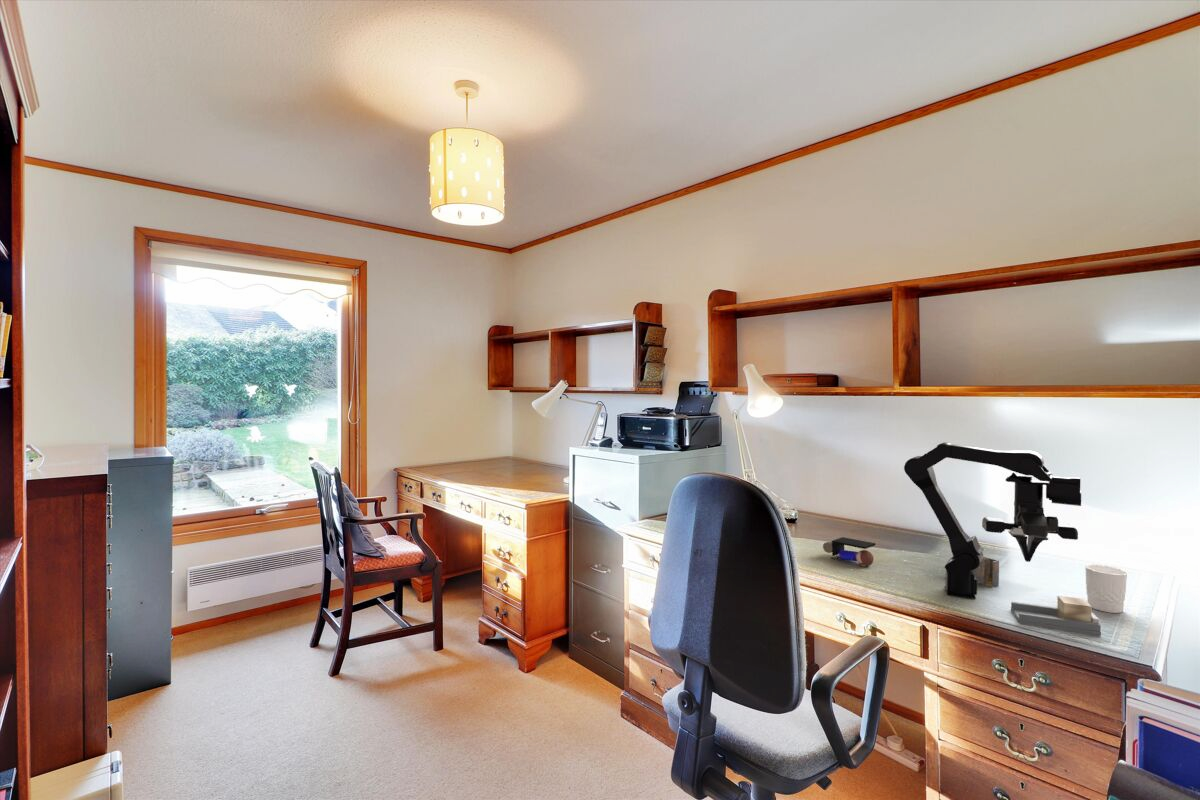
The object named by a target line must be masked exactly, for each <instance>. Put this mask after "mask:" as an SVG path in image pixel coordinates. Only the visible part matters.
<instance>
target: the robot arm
mask: <svg viewBox="0 0 1200 800" xmlns="http://www.w3.org/2000/svg"><path fill="white" fill-rule="evenodd" d="M947 458H949V459H955V460H961V461H967V462H974V463H978V464H979V463H980V464H985V465H990V466H991V465H992V466H998V467H999V468H1003V469H1006V470H1008V471H1011V472H1012V473H1011V475H1009V476H1007V477H1006V478H1005V481H1006V482H1007V483H1014V502H1013V505H1014V512H1013V513H1014V516H1013V522H1008V521H1005V520H1003V519H1002V518H1000V517H988V516H985V517H983V518H982V520H981V522H982V523H981V525H982V526H981V527H982V529H983V530H984V531H986V532H988V533H996V534H997V533H998V534H1001V533H1004V532H1005V531H1006V530H1008V531H1007V532H1008V534H1009V535H1010V536H1011V537H1013V538H1015V540H1016V541H1017V544H1018V546H1019V549H1020V551H1021V554H1022V556H1023V558H1024V562H1028V563H1029V562H1031V561H1032V559H1033V556H1034V554H1035V553H1036V550H1037V548H1038V547H1039V545H1040V544H1042V542H1043V541H1048V540H1049V537H1048V534H1052V535H1054V534H1055V535H1058V536H1059V537H1060V538H1061V539H1064V540H1073V541H1076V540H1079V532H1078V529H1077V528H1076V527H1074V526H1072V525H1071V524H1070V523H1067V522H1066V523H1065V522H1059V518H1058V517H1057V516H1049V515H1048V516H1045V513H1044V512H1045V510H1044V507H1043V506H1044V505H1043V502H1044V500H1043V499H1044V498H1043V497H1044V486H1045V499H1048V500H1049V501H1051V504H1057V505H1066V506H1076V507H1081V506H1082V489H1081V477H1074V476H1073V477H1065V476H1054V475H1053V474H1052V472H1051V471H1050V470H1049V469H1048V468H1047V467H1046V466H1045V463H1044V462H1045V460H1044V457H1042V455H1041V454H1039V453H1038V452H1037V451H1034V450H996V449H990V448H982V447H975V446H969V445H962V444H954V443H950V442H946V441H945V442H944V441H943V442H941V443H939V444H938V445H936V447H934V448H933V449H931V450H929V451H927V452H926V453H924V454H923V455H922V456H921V455H917V456H914V457H911V458H909V459H908V460H907V461H906V462H905V464H904V465H903V469H904V473H905V474H906V475H907V476H908V477H909V479H910V480H911V481H912V483H913V484H914V485H915V486H917V488H919V489H920V491H921V492H922V494H923V496H924V497H925V499H926V500H927V502H928V504H929V506H930V507H931V510H932V511H933V513H934V515H935V517H936V518H937V520H938V522H939V524H940V526H941V527H942V529H943V531H944V532H945V534H946V536H947V538H948V542H949V546H950V550H951V553H952V557H950V558H949V560H948V561H947V562H946V563H945V565H944V568H945V585H944V590H945V593H946V595H947V596H949V597H950V596H951V597H957V598H966V599H971V600H975V599H976V598H977V597H976V596H977V594H978V583H977V580H976V578H975V574H974V573H973V571H971V570H974V569H976V568H977V567H978V566H979V565H980V563H981V561H982V559H983V557H984V553H983V552H984V550H985V549H984V548H983V547H982V546H981V545H980V543H979V540H978V538H977V536H976V535H973V536H971V537H970V535H968V533H966V532H965V530H964V529H963V527H962V525H961V524H960V522H959V519H958V518H957V517H956V515H955V513H954V511H953V510H952V508H951V506H950V505H949V503H948V500H947V499H946V497H945V496H944V494H943V492H942V491H941V489H940V487H939V486H938V482H937V478H936V473H935V470H934V467H933V466H935V465H937V464H938V463H940V462H941V461H943V460H944V459H947ZM1019 474H1021V475H1019ZM1033 478H1035V479H1036V480H1035V479H1033Z"/></svg>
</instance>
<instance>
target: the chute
mask: <svg viewBox="0 0 1200 800" xmlns="http://www.w3.org/2000/svg"><path fill="white" fill-rule="evenodd" d="M1010 604H1011V605H1010V611H1011V613H1012V614H1013V615H1014V617H1015V618H1017V619H1016V620H1017V622H1018V621H1019V622H1018V623H1019V624H1020V625H1026V626H1031V625H1033V626H1032V627H1038V626H1041V627H1040V628H1045V627H1048V628H1047V629H1051V628H1053V629H1052V630H1058V629H1061V630H1060V631H1065V630H1066V631H1065V632H1073V633H1079V634H1087V635H1094V636H1100V637H1101V636H1102V632H1101V628H1102V627H1101V626H1102V625H1101V624H1100V618H1098V616H1096V614H1095V613H1093V612H1092V613H1091V622H1084V621H1077V620H1070V619H1062V618H1059V617H1058V616H1057V606H1049V605H1040V604H1033V603H1025V602H1020V601H1019V602H1018V601H1013V600H1012V601H1011V602H1010Z"/></svg>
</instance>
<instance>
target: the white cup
mask: <svg viewBox="0 0 1200 800" xmlns="http://www.w3.org/2000/svg"><path fill="white" fill-rule="evenodd" d="M1127 579H1128V572H1127V571H1126V570H1124V569H1121V568H1117V567H1115V566H1114V567H1113V566H1109V565H1103V564H1095V563H1094V564H1086V565H1085V587H1086V588H1085V589H1086V595H1087V600H1086V602H1088V603H1089V604H1090V605H1091V606H1092V609H1095V610H1097V611H1101V612H1105V613H1111V614H1121V613H1123V612H1124V606H1125V605H1124V604H1125V603H1124V602H1125V600H1126V599H1125V598H1126V591H1127Z"/></svg>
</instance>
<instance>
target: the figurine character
mask: <svg viewBox="0 0 1200 800" xmlns="http://www.w3.org/2000/svg"><path fill="white" fill-rule="evenodd" d="M845 546H848V547H853V548H859V549H861V550H859V551H856V550H855V551H853V550H846V549H845ZM874 546H876V542H871V541H865V540H860V539H855V538H850V537H849V538H848V537H844V536H842V537H839V538H836V539H833V540H831V541H827V542H824V543H823V545H822V549H823V550H824V552H826V553H827V554H831V553H832V555H831V556H830V558H831V559H833V560H844V561H849V562H850V561H851V562H852V561H853V562H857V563H858V564H859V566H862V567H869V566H871V565H872V564H873V562H874V555H873V554H872V552H871V551H869V550H867V549H869V548H871V547H874ZM865 549H866V550H865Z"/></svg>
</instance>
